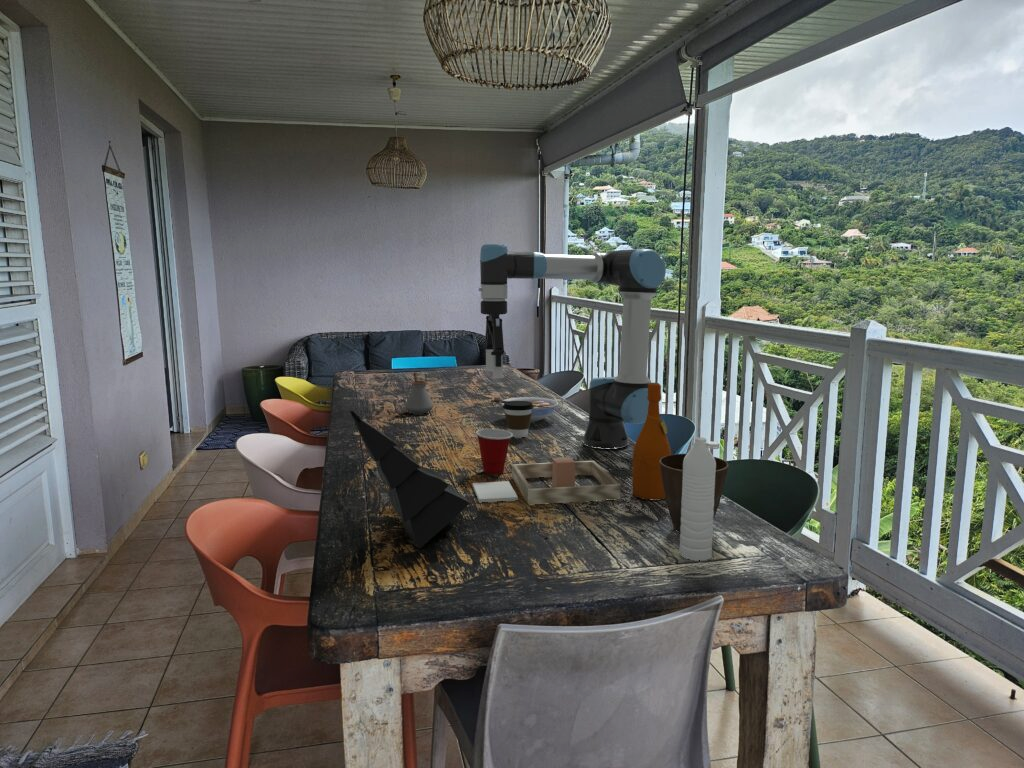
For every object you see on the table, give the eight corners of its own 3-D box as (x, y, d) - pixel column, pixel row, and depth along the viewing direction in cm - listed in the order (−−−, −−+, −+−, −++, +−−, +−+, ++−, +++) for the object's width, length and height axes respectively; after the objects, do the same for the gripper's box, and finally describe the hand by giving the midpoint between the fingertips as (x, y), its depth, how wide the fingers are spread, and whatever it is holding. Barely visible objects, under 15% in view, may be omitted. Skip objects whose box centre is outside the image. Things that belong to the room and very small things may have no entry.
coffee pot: (435, 414, 289) (434, 378, 286) (406, 416, 286) (406, 379, 283) (428, 405, 309) (427, 371, 307) (401, 406, 306) (400, 372, 304)
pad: (508, 484, 195) (508, 481, 195) (517, 500, 181) (517, 497, 181) (472, 486, 193) (472, 483, 193) (479, 502, 179) (479, 499, 179)
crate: (593, 473, 205) (593, 460, 204) (620, 500, 182) (620, 485, 181) (512, 478, 201) (512, 464, 200) (528, 505, 178) (528, 490, 177)
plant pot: (713, 547, 151) (717, 475, 148) (647, 534, 159) (649, 464, 156) (732, 526, 163) (736, 459, 161) (670, 514, 171) (672, 450, 168)
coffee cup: (497, 438, 248) (497, 404, 247) (509, 431, 258) (509, 399, 257) (527, 441, 244) (527, 406, 242) (537, 434, 254) (538, 401, 252)
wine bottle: (647, 504, 179) (651, 387, 174) (624, 493, 187) (627, 381, 182) (677, 498, 183) (682, 384, 178) (653, 488, 192) (657, 378, 187)
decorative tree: (412, 539, 164) (317, 426, 152) (461, 497, 167) (371, 383, 155) (429, 563, 151) (326, 441, 139) (482, 517, 154) (386, 394, 142)
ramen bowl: (571, 419, 280) (571, 398, 279) (542, 430, 261) (542, 408, 260) (517, 412, 293) (517, 393, 292) (486, 422, 274) (486, 401, 273)
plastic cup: (508, 478, 201) (508, 437, 199) (471, 476, 203) (471, 435, 201) (516, 467, 211) (516, 428, 209) (480, 465, 213) (480, 426, 211)
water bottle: (673, 551, 148) (677, 435, 144) (699, 548, 151) (705, 433, 147) (696, 568, 140) (702, 445, 136) (724, 563, 142) (730, 442, 138)
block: (570, 485, 194) (570, 457, 193) (574, 491, 189) (575, 462, 188) (552, 486, 193) (552, 458, 192) (556, 492, 188) (556, 462, 187)
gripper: (475, 298, 211) (475, 369, 214) (486, 302, 186) (487, 381, 190) (500, 298, 212) (500, 368, 215) (514, 301, 188) (514, 381, 191)
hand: (494, 374), depth 202 cm, fingers open, 13 cm apart
